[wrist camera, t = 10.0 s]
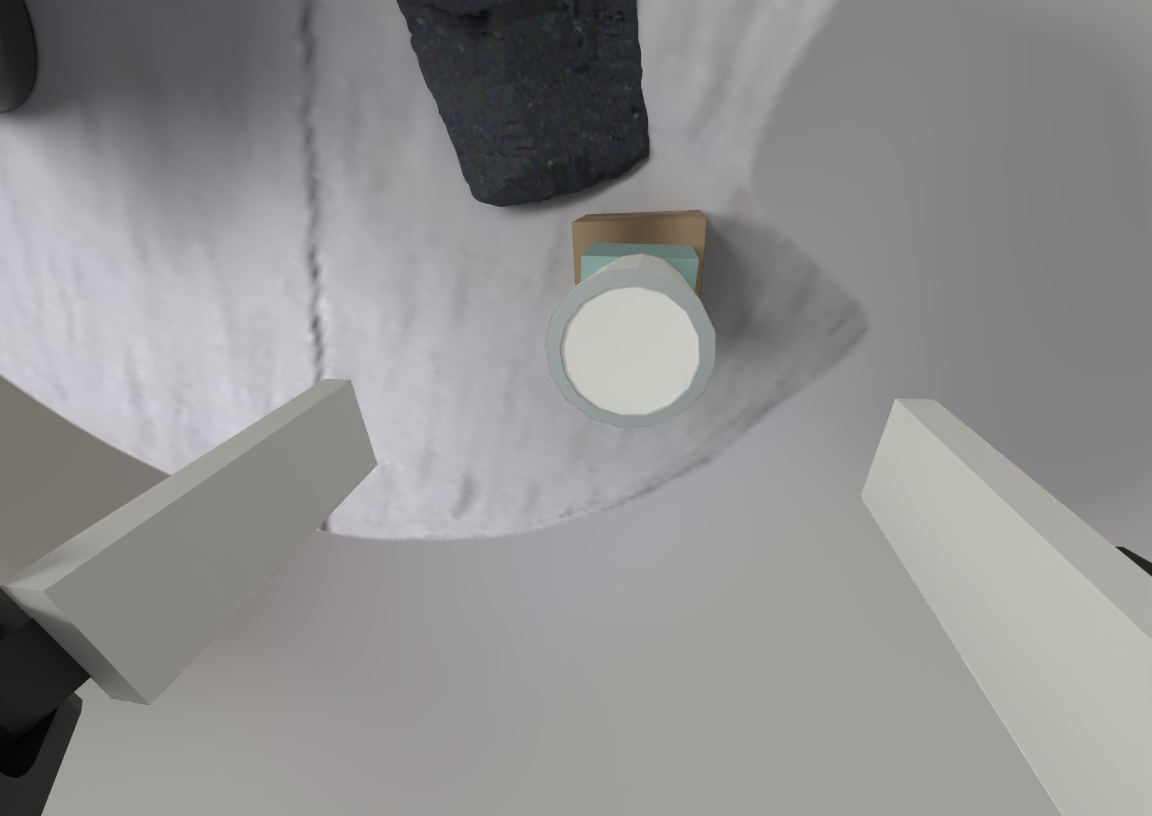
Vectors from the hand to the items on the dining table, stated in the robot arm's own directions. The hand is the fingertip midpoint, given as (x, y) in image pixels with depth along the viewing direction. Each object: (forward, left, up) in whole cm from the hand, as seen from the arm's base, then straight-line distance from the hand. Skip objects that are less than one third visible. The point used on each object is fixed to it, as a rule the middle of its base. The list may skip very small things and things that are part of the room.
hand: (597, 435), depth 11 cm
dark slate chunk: (-8, +15, -26) cm, 31 cm away
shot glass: (0, -1, -14) cm, 14 cm away
